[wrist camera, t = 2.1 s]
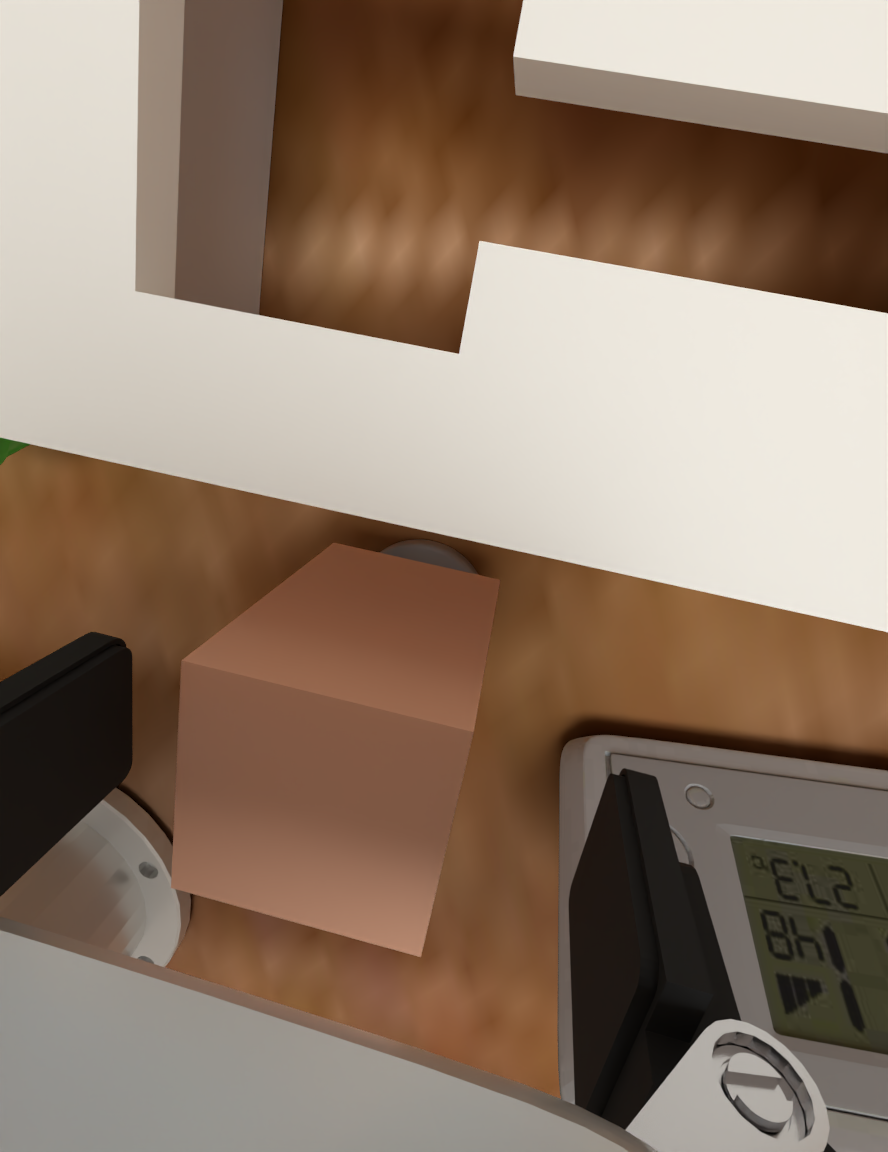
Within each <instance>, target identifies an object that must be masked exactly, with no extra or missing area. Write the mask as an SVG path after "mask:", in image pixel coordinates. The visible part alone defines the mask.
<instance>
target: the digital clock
mask: <svg viewBox="0 0 888 1152" xmlns="http://www.w3.org/2000/svg"><path fill="white" fill-rule="evenodd" d="M624 768H626V769H630V770H634V771H638V772H642V773H645V774H649V775H653V776H655V777H656V778H657V780H658V784H659V787H660V791H661V795H662V799H663V803H664V807H665V810H666V814H667V818H668V822H669V826H670V830H671V833H672V837H673V841H674V845H675V849H676V852H677V856H678V860H679V862H682V863H686V864H690V865H692V866H693V867H694V868H695V869H696V871H697V873H698V876H699V878H700V882H701V885H702V889H703V892H704V895H705V899H706V902H707V906H708V909H709V912H710V916H711V919H712V923H713V926H714V929H715V933H716V936H717V940H718V943H719V946H720V950H721V953H722V957H723V960H724V963H725V967H726V970H727V974H728V977H729V980H730V984H731V987H732V991H733V994H734V997H735V1001H736V1004H737V1008H738V1011H739V1014H740V1018H741V1021H742V1022H747V1023H749V1024H751V1025H753V1026H755V1027H758V1028H760V1029H762V1030H764V1031H766V1032H767V1033H769V1034H770V1035H771V1036H772V1037H774V1038H775V1039H776V1040H778V1041H779V1042H780V1043H782V1044H783V1045H784V1046H786V1048H787V1049H788V1050H789V1051H790V1052H791V1053H792V1054H793V1055H794V1056H795V1057H796V1058H797V1059H798V1060H799V1061H800V1062H801V1063H802V1064H803V1066H804V1067H805V1069H806V1070H807V1072H808V1073H809V1075H810V1076H811V1078H812V1079H813V1081H814V1082H815V1084H816V1085H817V1087H818V1090H819V1092H820V1094H821V1096H822V1099H823V1101H824V1103H825V1105H826V1109H827V1115H828V1120H829V1126H830V1129H829V1134H828V1140H827V1143H828V1144H829V1145H830V1146H831V1147H832V1148H833V1149H834V1150H835V1151H836V1152H888V771H887V770H879V769H872V768H864V767H857V766H849V765H841V764H834V763H826V762H819V761H811V760H804V759H796V758H789V757H781V756H774V755H766V754H758V753H751V752H743V751H736V750H728V749H721V748H713V747H706V746H698V745H691V744H683V743H675V742H667V741H660V740H652V739H644V738H634V737H625V736H616V735H594V736H587V737H581V738H576V739H574V740H571V741H569V742H568V743H567V744H566V745H565V746H564V748H563V751H562V755H561V761H560V774H559V906H558V1071H559V1085H560V1095H561V1099H562V1100H564V1101H567V1102H569V1103H572V1104H574V1105H575V1091H574V1060H573V1029H572V998H571V967H570V937H569V894H570V888H571V884H572V881H573V878H574V875H575V872H576V869H577V866H578V863H579V860H580V857H581V854H582V851H583V848H584V845H585V843H586V840H587V837H588V834H589V831H590V828H591V825H592V822H593V819H594V816H595V813H596V810H597V807H598V804H599V801H600V798H601V796H602V793H603V790H604V787H605V784H606V781H607V778H608V776H609V774H611V773H612V774H616V775H619V774H620V772H621V770H622V769H624Z"/></svg>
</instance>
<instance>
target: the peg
mask: <svg viewBox="0 0 888 1152" xmlns="http://www.w3.org/2000/svg"><path fill="white" fill-rule="evenodd" d="M499 586H500V580H499V579H495V578H490V577H486V576H481V575H478V573H477V571H476V570H475V568H474V567H473V566H472V565H471V563H470V562H469V561H468V560H467V559H466V558H465V557H464V556H463V555H461V554H460V553H459V552H457V551H456V550H454V549H453V548H451V547H449V546H447V545H444V544H442V543H439V542H436V541H431V540H425V539H412V540H405V541H401V542H398V543H395V544H393V545H390V546H389V547H387V548H385V549H383V550H382V551H381V552H379V553H378V552H374V551H369V550H365V549H361V548H356V547H352V546H347V545H343V544H338V543H333V544H331V545H330V546H329V547H327V548H326V549H325V550H324V551H322V552H321V553H320V554H318V555H317V556H316V557H314V558H313V559H312V560H311V561H309V562H308V563H307V564H305V565H304V566H303V567H302V568H300V569H299V570H298V571H296V572H295V573H294V574H292V575H291V576H290V577H289V578H287V579H286V580H285V581H283V582H282V583H281V584H280V585H278V586H277V587H276V588H274V589H273V590H272V591H270V592H269V593H268V594H267V595H265V596H264V597H263V598H261V599H260V600H259V601H258V602H256V603H255V604H254V605H252V606H251V607H250V608H248V609H247V610H246V611H245V612H243V613H242V614H241V615H239V616H238V617H237V618H236V619H234V620H233V621H232V622H230V623H229V624H228V625H227V626H225V627H224V628H223V629H221V630H220V631H219V632H217V633H216V634H215V635H214V636H212V637H211V638H210V639H208V640H207V641H206V642H205V643H203V644H202V645H201V646H199V647H198V648H197V649H195V650H194V651H193V652H192V653H190V654H189V655H188V656H186V657H185V658H184V659H183V660H181V680H180V702H179V724H178V746H177V767H176V789H175V811H174V833H173V855H172V877H171V888H173V889H177V890H181V891H184V892H188V893H192V894H195V895H199V896H202V897H206V898H210V899H213V900H217V901H220V902H224V903H228V904H231V905H235V906H238V907H242V908H246V909H249V910H253V911H256V912H260V913H264V914H267V915H271V916H274V917H278V918H282V919H285V920H289V921H292V922H296V923H300V924H303V925H307V926H310V927H314V928H318V929H321V930H325V931H328V932H332V933H336V934H339V935H343V936H346V937H350V938H354V939H357V940H361V941H364V942H368V943H372V944H375V945H379V946H382V947H386V948H390V949H393V950H397V951H401V952H404V953H408V954H411V955H415V956H419V957H421V954H422V949H423V945H424V941H425V937H426V932H427V928H428V924H429V920H430V915H431V911H432V907H433V903H434V898H435V894H436V890H437V886H438V881H439V877H440V873H441V869H442V864H443V860H444V856H445V852H446V847H447V843H448V839H449V835H450V830H451V826H452V822H453V818H454V813H455V809H456V805H457V801H458V796H459V792H460V788H461V784H462V779H463V775H464V771H465V767H466V762H467V758H468V754H469V750H470V745H471V741H472V737H473V733H474V727H475V722H476V716H477V710H478V705H479V699H480V693H481V688H482V682H483V676H484V671H485V665H486V659H487V654H488V648H489V642H490V637H491V631H492V625H493V620H494V614H495V609H496V603H497V597H498V592H499Z"/></svg>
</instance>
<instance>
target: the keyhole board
mask: <svg viewBox="0 0 888 1152" xmlns="http://www.w3.org/2000/svg"><path fill="white" fill-rule="evenodd" d="M282 8H283V0H0V438H5V439H9V440H14V441H18V442H23V443H27V444H32V445H37V446H41V447H46V448H50V449H55V450H59V451H64V452H68V453H73V454H78V455H82V456H87V457H91V458H96V459H100V460H105V461H109V462H114V463H119V464H123V465H128V466H132V467H137V468H141V469H146V470H151V471H155V472H160V473H164V474H169V475H173V476H178V477H182V478H187V479H192V480H196V481H201V482H205V483H210V484H214V485H219V486H224V487H228V488H233V489H237V490H242V491H246V492H251V493H255V494H260V495H265V496H269V497H274V498H278V499H283V500H287V501H292V502H297V503H301V504H306V505H310V506H315V507H319V508H324V509H328V510H333V511H338V512H342V513H347V514H351V515H356V516H360V517H365V518H369V519H374V520H379V521H383V522H388V523H392V524H397V525H401V526H406V527H411V528H415V529H420V530H424V531H429V532H433V533H438V534H442V535H447V536H452V537H456V538H461V539H465V540H470V541H474V542H479V543H484V544H488V545H493V546H497V547H502V548H506V549H511V550H515V551H520V552H525V553H529V554H534V555H538V556H543V557H547V558H552V559H557V560H561V561H566V562H570V563H575V564H579V565H584V566H588V567H593V568H598V569H602V570H607V571H611V572H616V573H620V574H625V575H629V576H634V577H639V578H643V579H648V580H652V581H657V582H661V583H666V584H671V585H675V586H680V587H684V588H689V589H693V590H698V591H702V592H707V593H712V594H716V595H721V596H725V597H730V598H734V599H739V600H744V601H748V602H753V603H757V604H762V605H766V606H771V607H775V608H780V609H785V610H789V611H794V612H798V613H803V614H807V615H812V616H817V617H821V618H826V619H830V620H835V621H839V622H844V623H848V624H853V625H858V626H862V627H867V628H871V629H876V630H880V631H885V632H888V313H883V312H877V311H871V310H866V309H860V308H855V307H849V306H843V305H838V304H832V303H826V302H821V301H815V300H810V299H804V298H798V297H793V296H787V295H782V294H776V293H770V292H765V291H759V290H753V289H748V288H742V287H737V286H731V285H725V284H720V283H714V282H709V281H703V280H697V279H692V278H686V277H680V276H675V275H669V274H664V273H658V272H652V271H647V270H641V269H635V268H630V267H624V266H619V265H613V264H607V263H602V262H596V261H591V260H585V259H579V258H574V257H568V256H562V255H557V254H551V253H546V252H540V251H534V250H529V249H523V248H518V247H512V246H506V245H501V244H495V243H489V242H484V241H479V247H478V252H477V258H476V263H475V269H474V274H473V280H472V285H471V291H470V296H469V302H468V307H467V313H466V318H465V324H464V329H463V335H462V340H461V346H460V351H459V354H457V353H452V352H447V351H441V350H436V349H431V348H426V347H421V346H416V345H411V344H405V343H400V342H395V341H390V340H385V339H380V338H374V337H369V336H364V335H359V334H354V333H349V332H343V331H338V330H333V329H328V328H323V327H318V326H313V325H307V324H302V323H297V322H292V321H287V320H282V319H276V318H271V317H266V316H261V315H259V307H260V294H261V281H262V268H263V255H264V242H265V229H266V216H267V203H268V190H269V177H270V164H271V151H272V138H273V125H274V112H275V99H276V86H277V73H278V60H279V47H280V34H281V21H282ZM513 63H514V78H515V93H516V95H519V96H525V97H532V98H538V99H545V100H551V101H557V102H564V103H570V104H576V105H583V106H589V107H595V108H602V109H608V110H614V111H621V112H627V113H634V114H640V115H646V116H653V117H659V118H665V119H672V120H678V121H684V122H691V123H697V124H703V125H710V126H716V127H723V128H729V129H735V130H742V131H748V132H754V133H761V134H767V135H773V136H780V137H786V138H792V139H799V140H805V141H811V142H818V143H824V144H831V145H837V146H843V147H850V148H856V149H862V150H869V151H875V152H881V153H888V0H523V5H522V10H521V16H520V21H519V27H518V32H517V38H516V43H515V49H514V54H513Z"/></svg>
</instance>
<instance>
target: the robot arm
mask: <svg viewBox="0 0 888 1152" xmlns="http://www.w3.org/2000/svg"><path fill="white" fill-rule="evenodd" d="M131 765H132V653H131V651H130V650H129V649H128V648H126V644H125V642H124V641H123V640H122V639H120V638H116V637H112V636H108V635H104V634H100V633H97V632H90V633H88V634H85V635H84V636H82V637H80V638H78V639H77V640H75V641H73V642H71V643H69V644H68V645H66V646H64V647H62V648H60V649H59V650H57V651H55V652H53V653H52V654H50V655H48V656H46V657H44V658H43V659H41V660H39V661H37V662H35V663H34V664H32V665H30V666H28V667H26V668H25V669H23V670H21V671H19V672H18V673H16V674H14V675H12V676H10V677H9V678H7V679H5V680H3V681H1V682H0V1152H836V1151H835V1150H834V1149H833V1148H832V1147H831V1146H830V1145H829V1144H828V1143H827V1140H828V1134H829V1129H830V1126H829V1120H828V1115H827V1109H826V1105H825V1103H824V1101H823V1099H822V1096H821V1094H820V1092H819V1090H818V1087H817V1085H816V1084H815V1082H814V1081H813V1079H812V1078H811V1076H810V1075H809V1073H808V1072H807V1070H806V1069H805V1067H804V1066H803V1064H802V1063H801V1062H800V1061H799V1060H798V1059H797V1058H796V1057H795V1056H794V1055H793V1054H792V1053H791V1052H790V1051H789V1050H788V1049H787V1048H786V1046H784V1045H783V1044H782V1043H780V1042H779V1041H778V1040H776V1039H775V1038H774V1037H772V1036H771V1035H770V1034H769V1033H767V1032H766V1031H764V1030H762V1029H760V1028H758V1027H755V1026H753V1025H751V1024H749V1023H747V1022H742V1021H741V1018H740V1014H739V1011H738V1008H737V1004H736V1001H735V997H734V994H733V991H732V987H731V984H730V980H729V977H728V974H727V970H726V967H725V963H724V960H723V957H722V953H721V950H720V946H719V943H718V940H717V936H716V933H715V929H714V926H713V923H712V919H711V916H710V912H709V909H708V906H707V902H706V899H705V895H704V892H703V889H702V885H701V882H700V878H699V876H698V873H697V871H696V869H695V868H694V867H693V866H692V865H690V864H686V863H682V862H679V860H678V856H677V852H676V849H675V845H674V841H673V837H672V833H671V830H670V826H669V822H668V818H667V814H666V810H665V807H664V803H663V799H662V795H661V791H660V787H659V784H658V780H657V778H656V777H655V776H653V775H649V774H645V773H642V772H638V771H634V770H630V769H626V768H624V769H622V770H621V772H620V774H619V775H616V774H612V773H611V774H609V776H608V778H607V781H606V784H605V787H604V790H603V793H602V796H601V798H600V801H599V804H598V807H597V810H596V813H595V816H594V819H593V822H592V825H591V828H590V831H589V834H588V837H587V840H586V843H585V845H584V848H583V851H582V854H581V857H580V860H579V863H578V866H577V869H576V872H575V875H574V878H573V881H572V884H571V888H570V894H569V937H570V967H571V998H572V1029H573V1060H574V1091H575V1105H574V1104H572V1103H569V1102H567V1101H564V1100H562V1099H559V1098H557V1097H554V1096H552V1095H549V1094H547V1093H544V1092H542V1091H539V1090H537V1089H534V1088H532V1087H529V1086H527V1085H524V1084H522V1083H519V1082H516V1081H513V1080H510V1079H507V1078H504V1077H501V1076H498V1075H495V1074H492V1073H489V1072H486V1071H484V1070H481V1069H478V1068H475V1067H472V1066H469V1065H466V1064H463V1063H460V1062H457V1061H454V1060H451V1059H448V1058H445V1057H443V1056H440V1055H437V1054H434V1053H431V1052H428V1051H425V1050H422V1049H419V1048H416V1047H413V1046H410V1045H407V1044H404V1043H401V1042H397V1041H394V1040H391V1039H388V1038H385V1037H382V1036H379V1035H376V1034H373V1033H369V1032H366V1031H363V1030H360V1029H357V1028H354V1027H351V1026H348V1025H344V1024H341V1023H338V1022H335V1021H332V1020H329V1019H326V1018H323V1017H320V1016H316V1015H313V1014H310V1013H307V1012H304V1011H301V1010H298V1009H295V1008H291V1007H288V1006H285V1005H282V1004H279V1003H276V1002H273V1001H270V1000H266V999H263V998H260V997H257V996H254V995H251V994H248V993H244V992H241V991H238V990H235V989H232V988H229V987H225V986H222V985H219V984H216V983H213V982H209V981H206V980H203V979H200V978H197V977H194V976H190V975H187V974H184V973H181V972H178V971H175V970H171V969H168V968H165V966H166V965H167V964H168V963H169V961H170V960H171V958H172V957H173V955H174V953H175V952H176V950H177V948H178V947H179V945H180V944H181V942H182V940H183V939H184V936H185V933H186V930H187V927H188V924H189V921H190V907H191V898H190V893H188V892H184V891H181V890H177V889H173V888H171V877H172V855H173V846H172V844H171V843H170V841H169V839H168V838H167V836H166V834H165V833H164V832H163V831H162V830H161V828H160V827H159V826H158V825H157V824H156V822H155V821H154V820H153V819H152V818H151V816H150V815H149V814H148V813H147V812H146V811H145V810H144V809H142V808H141V807H140V806H139V805H138V804H137V803H136V802H135V801H133V800H132V799H131V798H130V797H129V796H128V795H126V794H125V793H123V792H122V791H120V790H119V789H117V788H116V787H117V786H118V785H119V784H120V783H121V782H122V781H123V780H124V779H125V778H126V776H127V774H128V773H129V771H130V768H131Z"/></svg>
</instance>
